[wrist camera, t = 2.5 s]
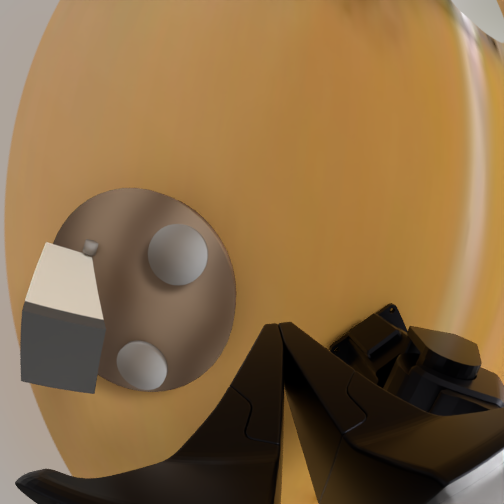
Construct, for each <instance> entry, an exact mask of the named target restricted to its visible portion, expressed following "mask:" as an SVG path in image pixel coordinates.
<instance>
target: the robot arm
mask: <svg viewBox="0 0 504 504" xmlns="http://www.w3.org/2000/svg"><path fill="white" fill-rule="evenodd" d="M391 308H393V309H392V311H391V312H390V309H391ZM337 347H338V350H337V351H334V349H335V348H337ZM329 350H330V351H329ZM329 350H327V349H326V348H325V347H323V346H322V345H321V344H319V343H318V342H317V341H315V340H314V339H313V338H311V337H310V336H309V335H308V334H306V333H305V332H304V331H302V330H301V329H300V328H298V327H297V326H296V325H294V324H293V323H292V322H284V323H279V324H276V323H274V324H265V325H264V327H263V329H262V330H261V332H260V334H259V336H258V338H257V339H256V341H255V343H254V345H253V346H252V348H251V350H250V352H249V354H248V355H247V357H246V359H245V361H244V362H243V364H242V366H241V367H240V369H239V371H238V373H237V374H236V376H235V378H234V379H233V381H232V383H231V385H230V387H229V388H228V389H227V391H226V393H225V394H224V396H223V398H222V399H221V401H220V402H219V404H218V405H217V407H216V408H215V409H214V410H213V412H212V413H211V414H210V415H209V417H208V418H207V419H206V420H205V421H204V423H203V424H202V425H201V426H200V427H199V428H198V429H197V431H196V432H195V433H194V434H193V435H192V436H191V437H190V438H189V440H188V441H187V442H186V443H185V444H184V445H183V446H182V447H181V448H180V449H179V450H178V451H177V452H176V453H175V454H174V455H173V456H171V457H170V458H168V459H166V460H165V461H163V462H160V463H157V464H153V465H150V466H147V467H143V468H140V469H136V470H132V471H128V472H124V473H120V474H116V475H112V476H107V477H102V478H89V479H85V478H77V477H73V476H69V475H66V474H63V473H60V472H58V471H55V470H51V469H42V470H38V471H33V472H30V473H27V474H25V475H23V476H22V477H20V478H19V479H18V480H17V481H16V482H15V484H16V486H17V487H18V488H19V489H20V490H21V491H22V492H23V493H24V494H25V495H27V496H28V497H29V498H30V499H32V500H33V501H34V502H36V503H37V504H281V484H282V461H283V429H284V387H285V392H286V396H287V399H288V402H289V406H290V409H291V413H292V416H293V420H294V423H295V426H296V430H297V433H298V437H299V440H300V443H301V447H302V450H303V453H304V457H305V460H306V464H307V467H308V470H309V474H310V477H311V480H312V484H313V487H314V490H315V494H316V497H317V500H318V503H319V504H504V385H503V383H502V382H501V380H500V378H499V377H498V375H496V374H495V373H493V372H490V371H488V370H486V369H483V368H481V367H480V366H481V363H482V362H481V358H480V354H479V350H478V346H477V344H475V343H473V342H471V341H469V340H467V339H464V338H462V337H460V336H458V335H455V334H451V333H445V332H440V331H434V330H429V329H424V328H419V327H413V326H410V327H409V329H408V331H407V329H406V327H405V324H404V322H403V320H402V317H401V315H400V313H399V311H398V309H397V307H396V305H394V304H392V303H391V304H388V305H387V306H385V307H384V308H383V309H381V310H380V311H379V312H377V313H376V314H372V315H371V316H370V317H368V318H367V319H365V320H364V321H363V322H361V323H360V324H358V325H357V326H356V327H354V328H353V329H351V330H350V331H349V333H348V334H347V335H345V336H344V337H342V338H341V339H339V340H338V341H336V342H335V343H333V344H332V345H331V346H330V349H329Z"/></svg>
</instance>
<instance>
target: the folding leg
mask: <svg viewBox="0 0 504 504" xmlns="http://www.w3.org/2000/svg"><path fill="white" fill-rule="evenodd" d="M105 332H106V327H105V323H104V319H103V314H102V310H101V305H100V300H99V295H98V290H97V285H96V279H95V273H94V267H93V260H92V255H88V254H85V253H81V252H78V251H74V250H71V249H68V248H64V247H61V246H57V245H54V244H51V243H48V242H46V244H45V246H44V249H43V251H42V254H41V256H40V259H39V261H38V264H37V267H36V269H35V272H34V275H33V278H32V281H31V284H30V287H29V290H28V293H27V296H26V299H25V303H24V306H23V310H22V322H21V381H23V382H28V383H32V384H37V385H42V386H47V387H52V388H58V389H64V390H70V391H77V392H84V393H92V394H94V393H95V386H96V380H97V374H98V368H99V362H100V357H101V352H102V347H103V342H104V337H105Z"/></svg>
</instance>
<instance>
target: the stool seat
mask: <svg viewBox="0 0 504 504" xmlns="http://www.w3.org/2000/svg"><path fill="white" fill-rule="evenodd" d="M53 244H54V245H57V246H61V247H64V248H68V249H71V250H74V251H78V252H81V253H85V254H88V255H92V260H93V267H94V273H95V279H96V285H97V290H98V295H99V300H100V305H101V310H102V314H103V319H104V323H105V327H106V332H105V337H104V342H103V347H102V352H101V357H100V362H99V368H98V375H99V376H101V377H103V378H104V379H106V380H108V381H110V382H112V383H114V384H116V385H119V386H122V387H125V388H128V389H132V390H138V391H147V392H157V391H166V390H171V389H176V388H178V387H181V386H184V385H186V384H188V383H190V382H192V381H194V380H196V379H197V378H199V377H200V376H201V375H203V374H204V373H205V372H206V371H207V370H208V369H209V368H210V367H211V366H212V365H213V364H214V363H215V362H216V360H217V359H218V358H219V356H220V355H221V353H222V351H223V349H224V348H225V346H226V344H227V342H228V339H229V336H230V333H231V330H232V325H233V320H234V314H235V306H236V283H235V276H234V271H233V267H232V263H231V261H230V258H229V255H228V252H227V250H226V248H225V247H224V245H223V243H222V241H221V239H220V238H219V236H218V235H217V233H216V232H215V230H214V229H213V228H212V227H211V226H210V224H209V223H208V222H207V221H206V220H205V219H204V218H203V217H202V216H201V215H199V214H198V213H197V212H196V211H195V210H193V209H192V208H190V207H189V206H187V205H186V204H184V203H182V202H180V201H178V200H176V199H174V198H172V197H169V196H166V195H164V194H161V193H158V192H154V191H151V190H146V189H139V188H121V189H115V190H110V191H107V192H104V193H101V194H98V195H96V196H94V197H92V198H91V199H89V200H87V201H86V202H84V203H83V204H82V205H80V206H79V207H78V208H77V209H76V210H75V211H74V212H73V213H72V214H71V215H70V216H69V217H68V218H67V220H66V221H65V222H64V224H63V225H62V227H61V228H60V230H59V232H58V234H57V236H56V238H55V240H54V243H53Z"/></svg>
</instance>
